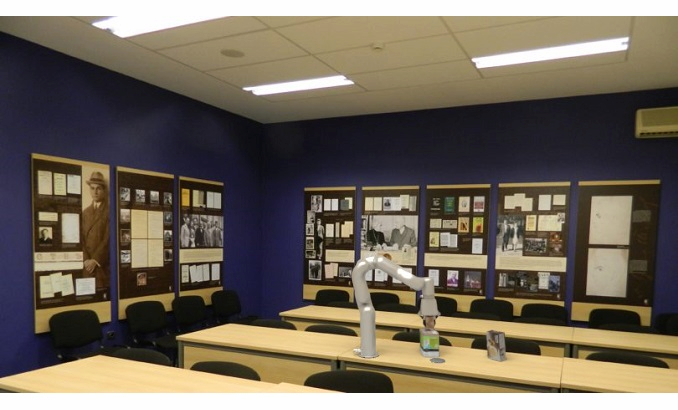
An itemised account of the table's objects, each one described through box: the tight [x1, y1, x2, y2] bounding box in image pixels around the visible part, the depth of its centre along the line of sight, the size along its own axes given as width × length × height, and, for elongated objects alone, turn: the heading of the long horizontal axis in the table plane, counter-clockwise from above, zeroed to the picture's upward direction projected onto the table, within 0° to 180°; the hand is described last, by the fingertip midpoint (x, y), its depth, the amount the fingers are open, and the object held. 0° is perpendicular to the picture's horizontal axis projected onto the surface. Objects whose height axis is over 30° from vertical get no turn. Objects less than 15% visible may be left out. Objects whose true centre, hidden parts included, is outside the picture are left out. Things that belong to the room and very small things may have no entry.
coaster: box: [429, 357, 446, 364], centre depth 261 cm, size 9×9×1 cm
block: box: [424, 316, 435, 329], centre depth 277 cm, size 5×5×7 cm
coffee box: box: [486, 329, 507, 362], centre depth 263 cm, size 9×6×16 cm
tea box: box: [419, 327, 440, 358], centre depth 276 cm, size 15×10×15 cm, turn 179°
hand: (429, 325), depth 277 cm, fingers closed on block, 5 cm apart
